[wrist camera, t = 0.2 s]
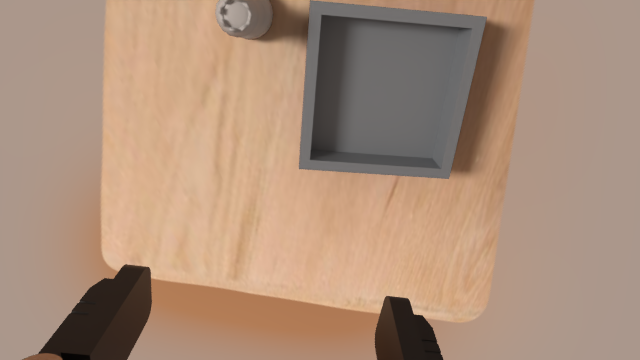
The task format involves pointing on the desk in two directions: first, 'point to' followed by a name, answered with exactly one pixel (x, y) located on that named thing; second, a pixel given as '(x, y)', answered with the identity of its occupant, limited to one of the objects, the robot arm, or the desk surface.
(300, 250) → the desk surface
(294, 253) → the desk surface
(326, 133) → the tray
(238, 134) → the desk surface
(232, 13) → the rook chess piece
